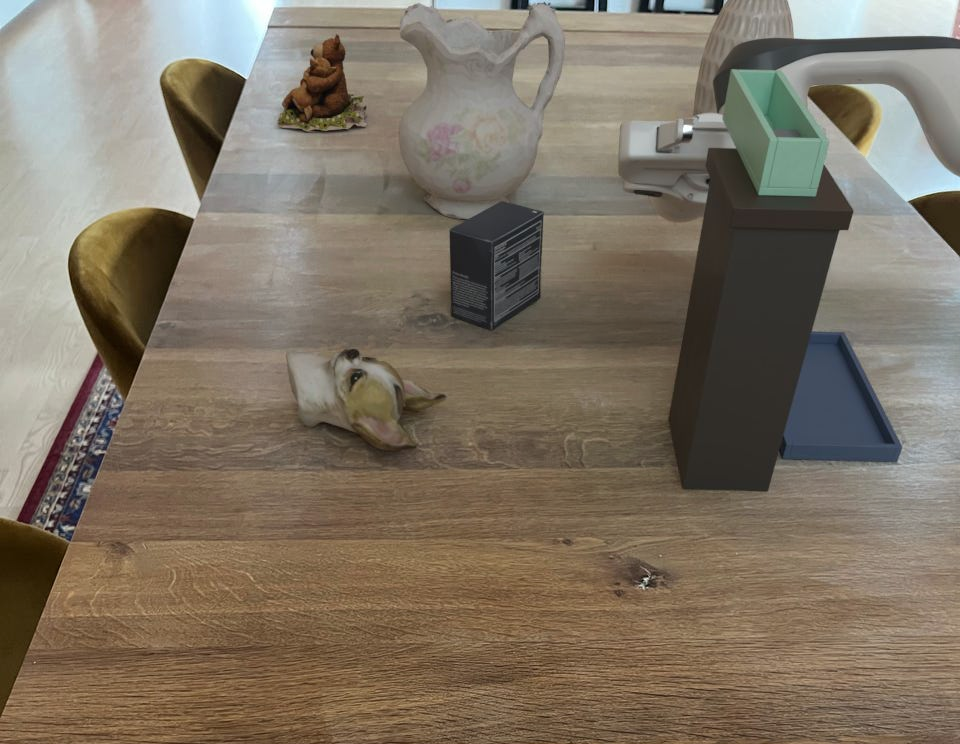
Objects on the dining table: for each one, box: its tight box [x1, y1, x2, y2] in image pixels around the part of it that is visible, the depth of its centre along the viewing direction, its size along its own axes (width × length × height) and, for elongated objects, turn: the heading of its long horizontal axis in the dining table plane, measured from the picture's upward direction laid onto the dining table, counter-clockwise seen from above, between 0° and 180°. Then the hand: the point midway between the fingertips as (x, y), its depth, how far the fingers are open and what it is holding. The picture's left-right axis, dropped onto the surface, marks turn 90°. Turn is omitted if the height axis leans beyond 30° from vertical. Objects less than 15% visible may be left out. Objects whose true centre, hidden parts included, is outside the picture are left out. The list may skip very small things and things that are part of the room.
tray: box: [779, 330, 903, 463], centre depth 103 cm, size 11×23×2 cm, turn 179°
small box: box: [448, 201, 545, 331], centre depth 113 cm, size 11×6×10 cm, turn 144°
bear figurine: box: [277, 33, 368, 133], centre depth 160 cm, size 14×15×12 cm
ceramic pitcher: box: [398, 1, 566, 220], centre depth 131 cm, size 22×20×25 cm
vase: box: [692, 0, 795, 117], centre depth 137 cm, size 13×13×28 cm
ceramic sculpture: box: [285, 348, 448, 452], centre depth 95 cm, size 11×9×15 cm
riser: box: [667, 148, 854, 492], centre depth 86 cm, size 9×13×26 cm
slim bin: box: [722, 69, 831, 197], centre depth 79 cm, size 4×18×4 cm, turn 179°
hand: (736, 128), depth 90 cm, fingers open, 8 cm apart
